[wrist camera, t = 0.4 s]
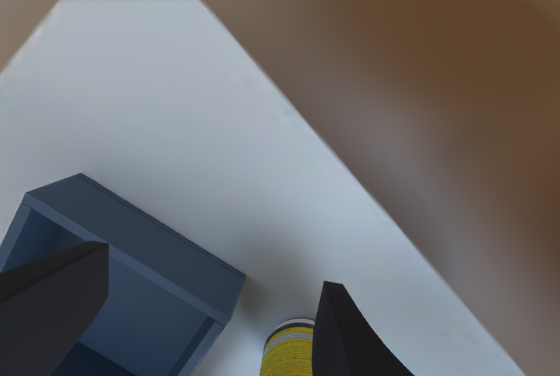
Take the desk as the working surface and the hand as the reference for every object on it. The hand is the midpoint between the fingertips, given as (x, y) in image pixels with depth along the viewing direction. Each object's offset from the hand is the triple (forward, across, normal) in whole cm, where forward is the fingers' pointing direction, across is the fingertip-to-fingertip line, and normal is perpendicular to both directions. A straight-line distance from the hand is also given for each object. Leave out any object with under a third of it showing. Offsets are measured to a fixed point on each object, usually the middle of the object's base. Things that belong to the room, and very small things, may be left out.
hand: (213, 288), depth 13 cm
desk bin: (+10, +7, +8) cm, 15 cm away
